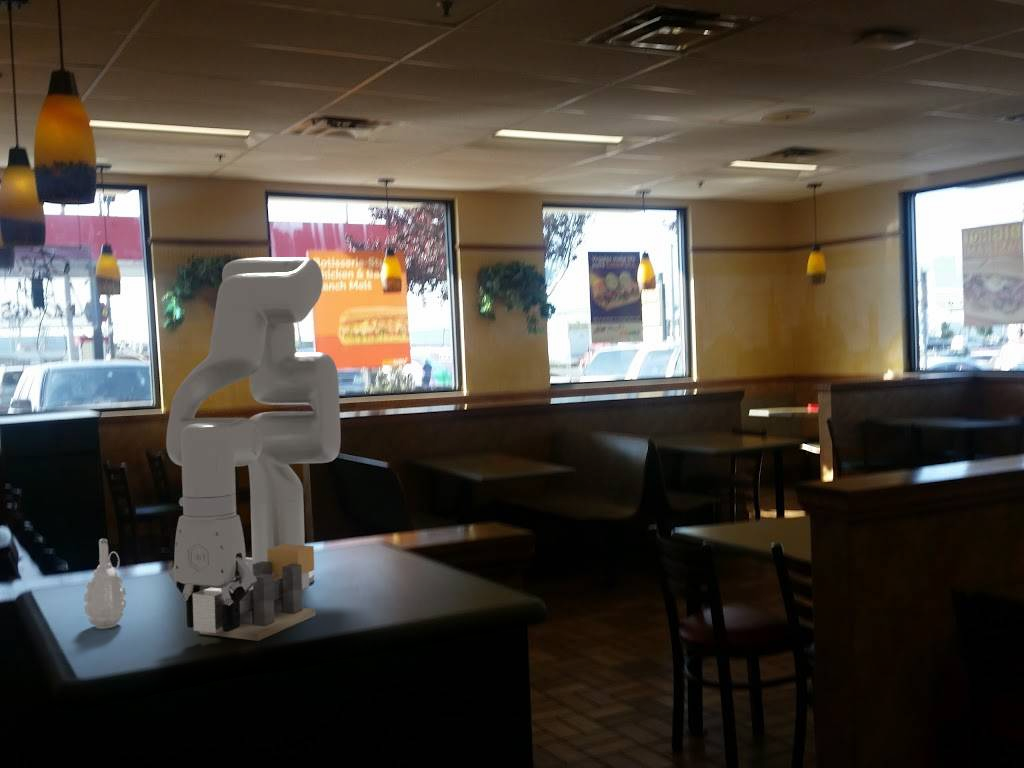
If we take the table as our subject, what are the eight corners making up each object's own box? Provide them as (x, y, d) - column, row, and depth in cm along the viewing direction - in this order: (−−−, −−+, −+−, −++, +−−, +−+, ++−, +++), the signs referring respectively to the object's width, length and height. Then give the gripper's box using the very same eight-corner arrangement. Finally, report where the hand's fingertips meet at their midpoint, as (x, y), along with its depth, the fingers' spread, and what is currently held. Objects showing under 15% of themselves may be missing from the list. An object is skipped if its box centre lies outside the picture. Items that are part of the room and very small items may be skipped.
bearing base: (199, 633, 160) (197, 578, 159) (260, 609, 173) (258, 558, 173) (258, 640, 155) (256, 584, 155) (315, 615, 169) (314, 563, 169)
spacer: (267, 573, 171) (267, 549, 171) (284, 567, 175) (283, 543, 175) (298, 575, 169) (297, 551, 169) (314, 570, 173) (313, 546, 173)
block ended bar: (193, 630, 153) (192, 593, 153) (292, 591, 176) (291, 559, 175) (215, 633, 152) (214, 595, 151) (312, 593, 174) (311, 561, 174)
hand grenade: (78, 626, 165) (75, 539, 164) (116, 618, 169) (113, 533, 169) (98, 635, 160) (95, 545, 159) (137, 627, 164) (134, 539, 163)
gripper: (146, 507, 153) (150, 628, 154) (241, 513, 147) (244, 640, 147) (181, 500, 160) (185, 615, 161) (273, 505, 153) (276, 626, 154)
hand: (213, 626), depth 154 cm, fingers open, 5 cm apart
